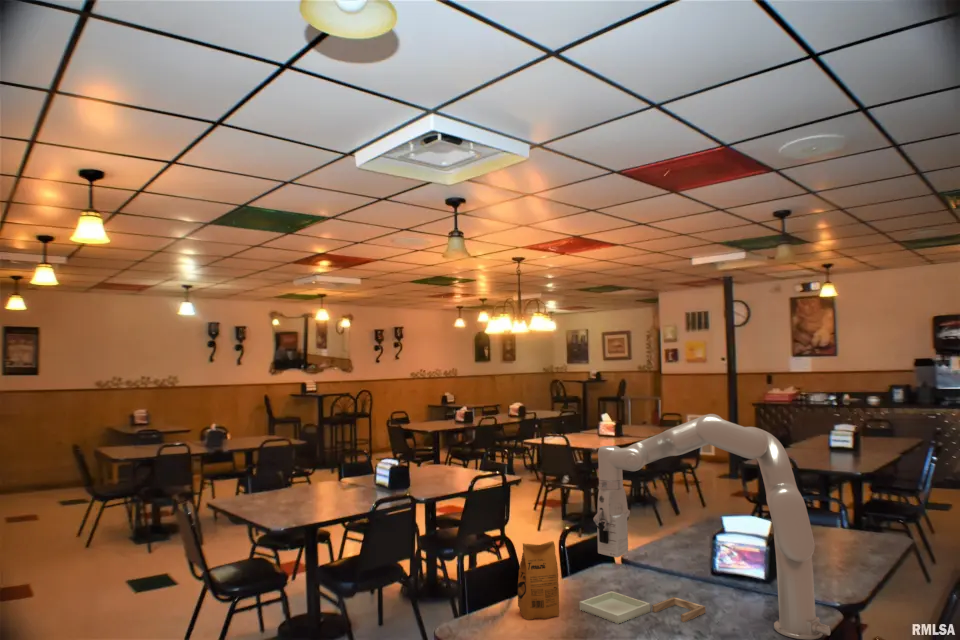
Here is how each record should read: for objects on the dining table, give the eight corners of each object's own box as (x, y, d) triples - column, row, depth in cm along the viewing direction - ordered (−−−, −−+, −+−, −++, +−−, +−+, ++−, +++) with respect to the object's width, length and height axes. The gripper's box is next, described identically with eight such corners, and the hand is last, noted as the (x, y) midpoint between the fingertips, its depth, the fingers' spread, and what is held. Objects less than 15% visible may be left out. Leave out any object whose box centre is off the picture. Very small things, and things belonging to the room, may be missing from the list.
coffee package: (515, 610, 204) (514, 539, 206) (552, 606, 207) (550, 537, 209) (523, 621, 195) (521, 547, 197) (562, 618, 197) (560, 545, 199)
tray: (650, 611, 201) (650, 603, 201) (618, 624, 191) (618, 615, 191) (611, 598, 213) (611, 591, 213) (579, 610, 203) (579, 601, 204)
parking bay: (705, 613, 199) (705, 606, 199) (684, 622, 192) (683, 615, 192) (674, 603, 208) (673, 596, 208) (652, 611, 201) (652, 605, 201)
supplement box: (608, 548, 209) (607, 509, 210) (628, 552, 204) (628, 512, 205) (596, 553, 204) (596, 513, 204) (617, 558, 199) (616, 517, 199)
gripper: (602, 489, 197) (604, 547, 196) (637, 483, 208) (639, 537, 206) (583, 486, 203) (585, 543, 202) (619, 480, 214) (621, 533, 212)
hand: (613, 540), depth 204 cm, fingers closed on supplement box, 8 cm apart
